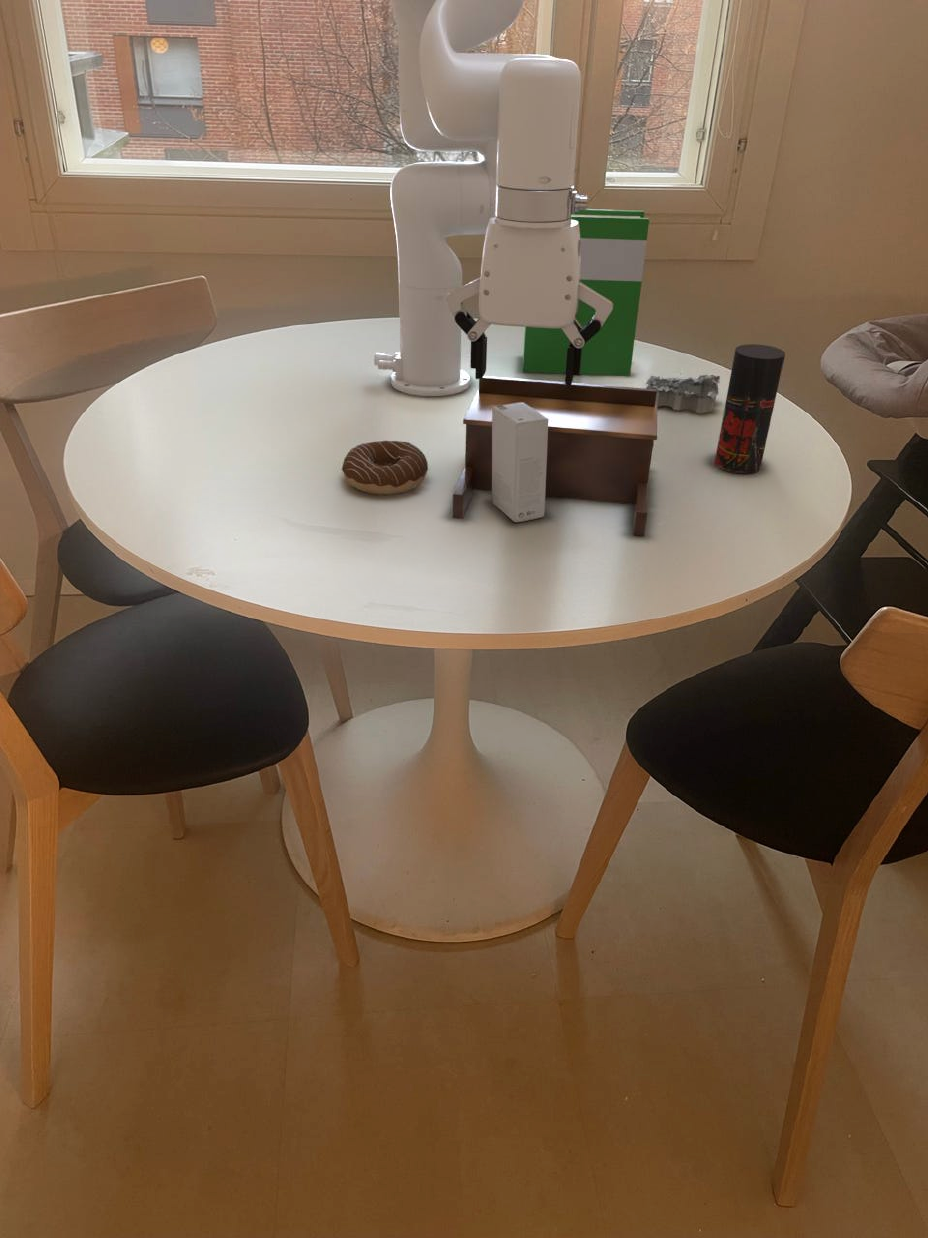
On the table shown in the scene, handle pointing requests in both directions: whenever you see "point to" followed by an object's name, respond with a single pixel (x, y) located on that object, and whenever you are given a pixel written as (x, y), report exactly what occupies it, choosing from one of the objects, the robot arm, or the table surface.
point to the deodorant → (749, 408)
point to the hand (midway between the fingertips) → (524, 378)
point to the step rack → (571, 440)
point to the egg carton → (686, 392)
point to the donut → (385, 467)
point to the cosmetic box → (519, 461)
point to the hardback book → (611, 272)
